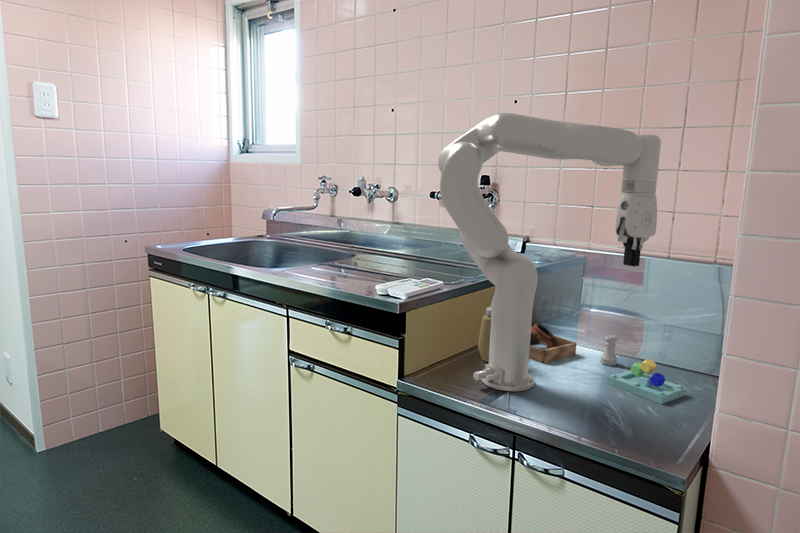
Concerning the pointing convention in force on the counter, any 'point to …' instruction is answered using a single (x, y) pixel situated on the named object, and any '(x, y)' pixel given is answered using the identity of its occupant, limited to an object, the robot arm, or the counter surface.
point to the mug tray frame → (552, 350)
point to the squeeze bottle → (485, 335)
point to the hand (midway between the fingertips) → (631, 265)
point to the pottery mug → (542, 335)
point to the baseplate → (647, 388)
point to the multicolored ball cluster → (646, 380)
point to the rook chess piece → (609, 351)
